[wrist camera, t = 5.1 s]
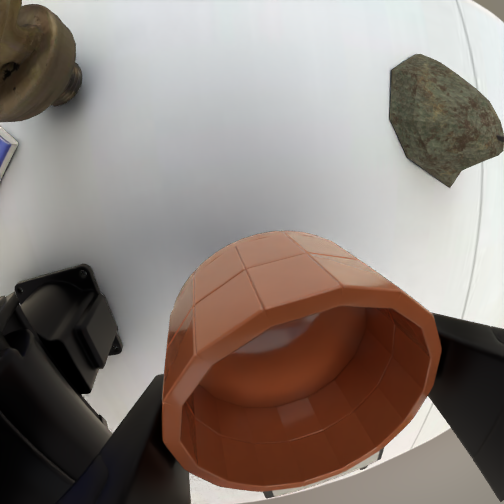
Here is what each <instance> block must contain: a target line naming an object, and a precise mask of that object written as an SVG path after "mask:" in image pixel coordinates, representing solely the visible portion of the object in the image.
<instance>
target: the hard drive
mask: <svg viewBox="0 0 504 504" xmlns="http://www.w3.org/2000/svg"><path fill="white" fill-rule="evenodd" d="M17 146H18V142H17V141H16V140H15V139H14V138H13V137H12V136H11V135H10V134H8V133H7V132H6V131H5V130H4V129H3V128H2V127H1V126H0V181H1V178H2V176H3V174H4V171H5V169H6V167H7V165H8V163H9V161H10V159H11V157H12V155H13V153H14V151H15V149H16V148H17Z"/></svg>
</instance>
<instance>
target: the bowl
mask: <svg viewBox="0 0 504 504" xmlns="http://www.w3.org/2000/svg"><path fill="white" fill-rule="evenodd" d="M441 352H442V347H441V343H440V339H439V335H438V331H437V327H436V323H435V319H434V316H433V315H432V313H431V312H429V311H428V310H427V309H426V308H424V307H423V306H422V305H421V304H419V303H418V302H417V301H416V300H414V299H413V298H412V297H411V296H409V295H408V294H407V293H405V292H404V291H403V290H401V289H400V288H399V287H397V286H396V285H395V284H393V283H392V282H390V281H389V280H388V279H386V278H385V277H383V276H382V275H380V274H379V273H378V272H376V271H375V270H373V269H372V268H370V267H369V266H368V265H366V264H365V263H363V262H362V261H360V260H359V259H357V258H356V257H354V256H353V255H352V254H350V253H349V252H347V251H346V250H344V249H343V248H341V247H340V246H338V245H337V244H335V243H334V242H332V241H330V240H327V239H324V238H322V237H319V236H317V235H313V234H309V233H304V232H297V231H271V232H266V233H260V234H256V235H252V236H249V237H246V238H243V239H240V240H238V241H236V242H234V243H232V244H229V245H227V246H225V247H224V248H222V249H221V250H219V251H218V252H216V253H214V254H213V255H212V256H210V257H209V258H208V259H207V260H206V261H204V262H203V263H202V264H201V265H200V266H199V267H198V268H197V269H196V270H195V271H194V272H193V273H192V274H191V276H190V277H189V278H188V280H187V281H186V283H185V284H184V286H183V287H182V289H181V291H180V293H179V295H178V297H177V299H176V301H175V304H174V307H173V310H172V312H171V315H170V322H169V330H168V339H167V349H166V359H165V370H164V381H163V394H162V440H163V443H164V444H165V445H166V447H167V448H168V449H169V451H170V452H171V453H172V455H173V456H174V457H175V459H176V460H177V461H178V462H179V464H180V465H181V466H182V467H183V469H185V470H186V471H188V472H189V473H191V474H193V475H195V476H198V477H200V478H202V479H204V480H206V481H208V482H210V483H212V484H215V485H217V486H220V487H225V488H232V489H239V490H247V491H257V492H259V491H260V492H263V491H273V490H282V489H290V488H297V487H302V486H306V485H309V484H312V483H316V482H318V481H321V480H324V479H327V478H330V477H333V476H335V475H338V474H341V473H343V472H345V471H347V470H349V469H350V468H352V467H354V466H356V465H357V464H359V463H361V462H362V461H364V460H366V459H367V458H369V457H370V456H372V455H374V454H375V453H377V452H378V451H380V449H382V448H384V447H385V446H386V445H387V444H388V443H389V442H390V441H391V440H392V439H393V438H394V437H395V436H396V435H398V434H399V433H400V432H401V431H402V430H403V429H404V428H405V427H406V426H407V425H408V424H409V423H410V422H411V420H412V419H413V418H414V416H415V415H416V413H417V412H418V410H419V409H420V407H421V406H422V404H423V402H424V401H425V399H426V397H427V396H428V394H429V393H430V391H431V389H432V387H433V385H434V382H435V378H436V374H437V370H438V366H439V361H440V357H441Z"/></svg>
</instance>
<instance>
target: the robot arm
mask: <svg viewBox="0 0 504 504" xmlns="http://www.w3.org/2000/svg"><path fill="white" fill-rule="evenodd" d="M81 270H84V271H85V272H86V273H87V275H83V274H82V271H81ZM20 288H21V289H22V290H23V292H22V291H21V290H20ZM15 293H16V294H15ZM16 295H17V296H16ZM19 303H20V304H21V305H19ZM432 315H433V316H434V319H435V323H436V327H437V331H438V335H439V339H440V343H441V347H442V352H441V357H440V361H439V366H438V370H437V374H436V378H435V382H434V385H433V387H432V389H431V391H430V393H429V394H428V397H429V398H430V399H431V401H432V402H433V403H434V405H435V406H436V407H437V409H438V410H439V412H440V413H441V414H442V416H443V417H444V418H445V420H446V421H447V423H448V424H449V425H450V427H451V428H452V430H453V431H454V433H455V434H456V435H457V437H458V438H459V440H460V441H461V443H462V444H463V446H464V447H465V448H466V450H467V451H468V453H469V454H470V456H471V457H472V458H473V461H474V462H475V463H476V465H477V467H478V468H479V469H480V471H481V473H482V474H483V476H484V477H485V479H486V480H487V482H488V483H489V485H490V486H491V488H492V490H493V491H494V493H495V495H496V496H497V498H498V499H499V500H500V502H502V501H503V500H504V329H502V328H497V327H493V326H491V327H490V326H488V325H484V324H479V323H475V322H470V321H466V320H461V319H457V318H453V317H448V316H444V315H440V314H435V313H432ZM117 330H118V327H117V325H116V323H115V320H114V318H113V316H112V313H111V311H110V308H109V306H108V304H107V301H106V299H105V296H104V295H102V294H101V293H100V291H99V288H98V286H97V283H96V280H95V277H94V275H93V272H92V269H91V268H90V267H89V266H88V265H86V264H81V265H78V266H74V267H70V268H67V269H63V270H60V271H56V272H52V273H49V274H45V275H42V276H38V277H35V278H31V279H28V280H25V281H21V282H19V283H18V284H16V286H15V292H14V293H12V294H10V295H8V296H6V297H5V295H4V296H1V297H0V504H191V499H190V484H189V472H188V471H186V470H185V469H183V467H182V466H181V465H180V464H179V462H178V461H177V460H176V459H175V457H174V456H173V455H172V453H171V452H170V451H169V449H168V448H167V447H166V445H165V444H164V443H163V440H162V394H163V381H164V374H161V375H157V376H156V377H155V378H154V379H153V381H152V382H151V383H150V385H149V386H148V387H147V389H146V390H145V391H144V393H143V394H142V395H141V397H140V398H139V399H138V401H137V402H136V403H135V405H134V406H133V407H132V409H131V410H130V411H129V413H128V414H127V415H126V417H125V418H124V419H123V421H122V422H121V423H120V425H119V426H118V427H117V429H116V430H115V431H114V433H113V434H112V433H111V432H110V431H109V430H108V426H107V422H106V420H105V419H104V418H103V417H102V416H101V415H98V414H97V413H96V412H95V410H94V409H93V408H92V407H91V406H90V405H89V404H88V402H87V401H86V400H85V399H84V398H83V396H82V395H81V394H89V393H91V390H92V387H93V384H94V381H95V378H96V375H97V373H98V370H99V369H103V368H104V366H105V364H106V361H107V358H108V356H110V355H116V354H120V353H121V351H122V348H123V345H122V342H121V340H120V338H119V336H118V334H117ZM113 345H115V346H117V347H118V348H115V347H113Z"/></svg>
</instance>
